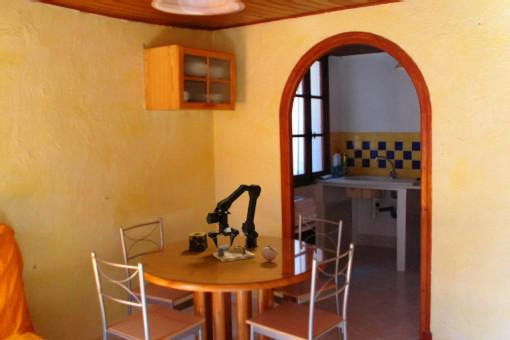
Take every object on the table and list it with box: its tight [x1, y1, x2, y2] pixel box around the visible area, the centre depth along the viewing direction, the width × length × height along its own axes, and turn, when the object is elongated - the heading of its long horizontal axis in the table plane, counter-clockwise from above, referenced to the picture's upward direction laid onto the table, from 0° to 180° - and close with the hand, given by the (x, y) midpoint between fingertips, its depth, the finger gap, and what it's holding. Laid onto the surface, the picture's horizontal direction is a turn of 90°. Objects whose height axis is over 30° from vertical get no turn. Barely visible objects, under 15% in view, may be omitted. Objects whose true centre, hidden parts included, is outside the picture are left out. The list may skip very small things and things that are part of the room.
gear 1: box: [217, 244, 231, 251], centre depth 301 cm, size 7×7×3 cm
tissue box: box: [188, 231, 209, 252], centre depth 308 cm, size 10×10×10 cm
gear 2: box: [232, 244, 246, 253], centre depth 295 cm, size 7×7×3 cm
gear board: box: [212, 244, 256, 263], centre depth 289 cm, size 20×16×5 cm
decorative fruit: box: [261, 244, 279, 263], centre depth 276 cm, size 9×8×10 cm
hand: (224, 247), depth 301 cm, fingers open, 9 cm apart
